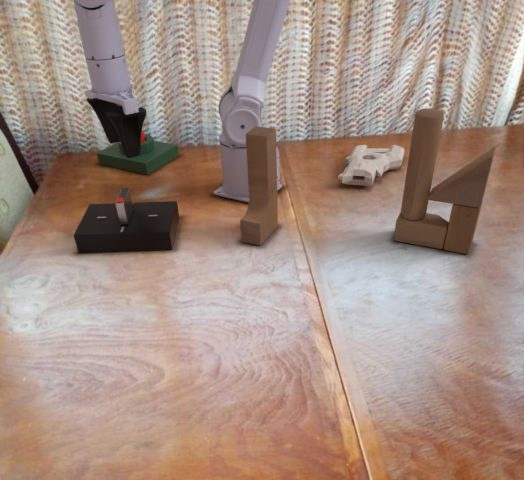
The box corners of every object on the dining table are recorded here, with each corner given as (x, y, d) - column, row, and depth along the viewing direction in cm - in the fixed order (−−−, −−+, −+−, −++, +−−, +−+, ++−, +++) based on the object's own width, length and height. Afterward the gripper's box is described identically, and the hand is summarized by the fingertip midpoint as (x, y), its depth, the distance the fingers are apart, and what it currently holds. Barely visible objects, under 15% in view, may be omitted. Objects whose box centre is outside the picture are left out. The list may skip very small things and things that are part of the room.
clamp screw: (126, 209, 84) (121, 186, 81) (134, 209, 84) (129, 186, 81) (120, 225, 80) (114, 201, 77) (128, 224, 80) (123, 201, 77)
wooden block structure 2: (468, 255, 76) (501, 124, 64) (392, 241, 79) (411, 115, 68) (472, 243, 78) (504, 114, 66) (398, 230, 82) (417, 106, 70)
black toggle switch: (179, 217, 87) (176, 199, 85) (172, 250, 80) (169, 231, 78) (93, 221, 88) (89, 203, 85) (78, 253, 80) (72, 234, 78)
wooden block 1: (259, 222, 85) (255, 125, 75) (278, 226, 84) (276, 128, 74) (241, 242, 81) (234, 142, 71) (260, 246, 80) (256, 145, 70)
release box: (179, 155, 107) (176, 135, 104) (147, 175, 101) (143, 153, 98) (132, 146, 112) (128, 126, 109) (99, 164, 105) (94, 143, 103)
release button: (149, 140, 104) (147, 130, 103) (137, 146, 102) (135, 137, 101) (134, 137, 106) (133, 128, 104) (122, 143, 103) (120, 134, 102)
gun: (396, 173, 88) (336, 169, 91) (394, 193, 90) (335, 189, 93) (406, 139, 102) (353, 136, 104) (404, 158, 104) (352, 154, 106)
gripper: (63, 50, 81) (86, 141, 90) (95, 70, 72) (117, 169, 81) (108, 43, 84) (125, 131, 93) (144, 61, 74) (160, 158, 83)
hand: (124, 148), depth 87 cm, fingers open, 7 cm apart
